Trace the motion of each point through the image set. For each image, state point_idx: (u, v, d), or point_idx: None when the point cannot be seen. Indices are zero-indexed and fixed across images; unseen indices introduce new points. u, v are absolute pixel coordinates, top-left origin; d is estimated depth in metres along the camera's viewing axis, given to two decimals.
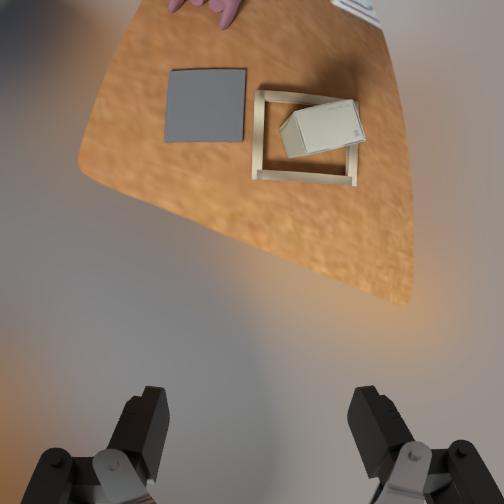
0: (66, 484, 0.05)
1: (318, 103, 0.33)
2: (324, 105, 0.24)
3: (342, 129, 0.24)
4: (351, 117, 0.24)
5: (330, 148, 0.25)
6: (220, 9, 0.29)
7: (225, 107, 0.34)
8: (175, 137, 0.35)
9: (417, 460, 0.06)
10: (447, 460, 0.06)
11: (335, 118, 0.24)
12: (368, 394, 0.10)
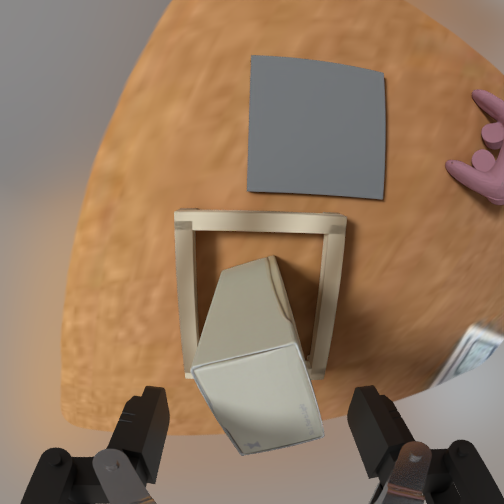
0: (66, 484, 0.05)
1: (319, 323, 0.21)
2: (312, 397, 0.11)
3: (258, 427, 0.11)
4: (286, 438, 0.11)
5: (213, 408, 0.11)
6: (477, 166, 0.19)
7: (314, 161, 0.19)
8: (259, 72, 0.18)
9: (417, 460, 0.06)
10: (447, 460, 0.06)
11: (281, 417, 0.11)
12: (368, 394, 0.10)
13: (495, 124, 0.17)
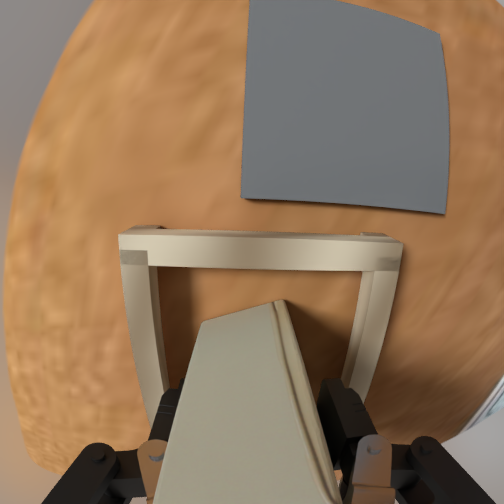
0: (104, 481, 0.06)
1: None
2: None
3: None
4: None
5: None
6: None
7: (351, 150, 0.11)
8: (263, 12, 0.10)
9: (375, 454, 0.07)
10: (411, 459, 0.07)
11: None
12: (333, 386, 0.11)
13: None
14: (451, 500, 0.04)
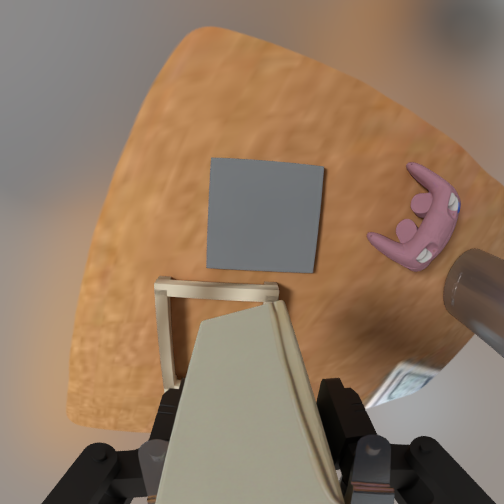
0: (105, 480, 0.06)
1: None
2: None
3: None
4: None
5: None
6: (399, 235, 0.27)
7: (257, 246, 0.27)
8: (217, 174, 0.25)
9: (374, 453, 0.07)
10: (410, 459, 0.07)
11: None
12: (332, 386, 0.11)
13: (426, 194, 0.25)
14: (451, 500, 0.04)
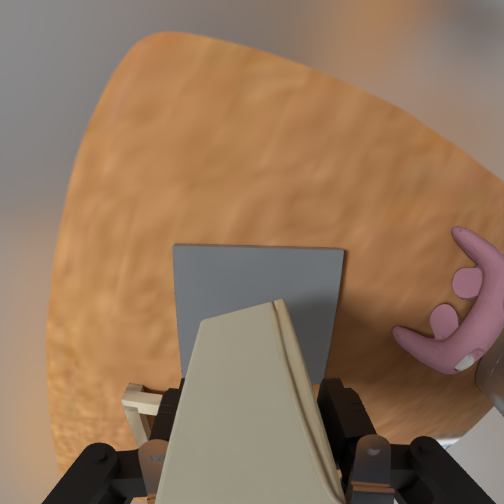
0: (105, 480, 0.06)
1: None
2: None
3: None
4: None
5: None
6: (434, 326, 0.18)
7: None
8: (183, 269, 0.17)
9: (374, 453, 0.07)
10: (410, 459, 0.07)
11: None
12: (332, 386, 0.11)
13: (473, 270, 0.17)
14: (451, 500, 0.04)
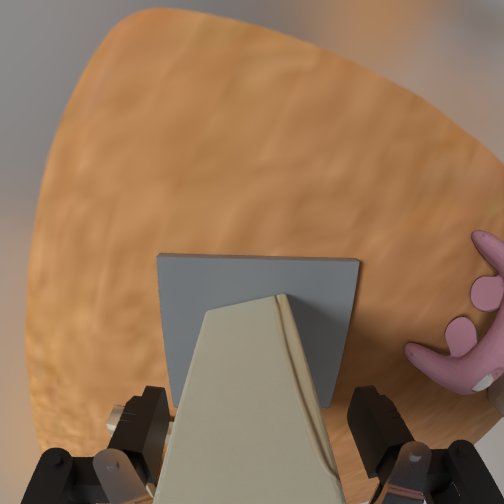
0: (66, 484, 0.05)
1: None
2: None
3: None
4: None
5: None
6: (449, 342, 0.15)
7: None
8: (169, 284, 0.14)
9: (417, 460, 0.06)
10: (447, 460, 0.06)
11: None
12: (368, 394, 0.10)
13: (494, 279, 0.14)
14: None
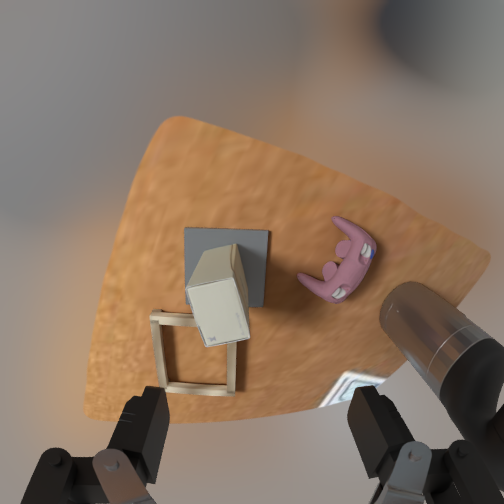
0: (66, 484, 0.05)
1: (227, 368, 0.39)
2: (241, 309, 0.25)
3: (215, 325, 0.25)
4: (229, 335, 0.25)
5: (193, 312, 0.25)
6: (324, 274, 0.37)
7: None
8: (189, 239, 0.35)
9: (417, 460, 0.06)
10: (447, 460, 0.06)
11: (227, 319, 0.25)
12: (368, 394, 0.10)
13: (348, 241, 0.35)
14: None
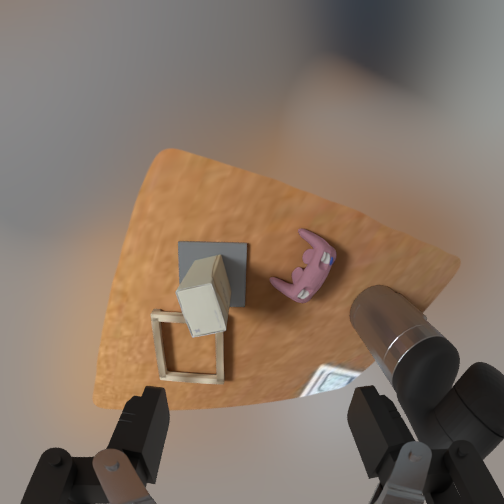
0: (66, 484, 0.05)
1: (216, 359, 0.46)
2: (218, 307, 0.32)
3: (198, 320, 0.32)
4: (210, 328, 0.33)
5: (182, 309, 0.32)
6: (293, 278, 0.44)
7: None
8: (182, 251, 0.43)
9: (417, 460, 0.06)
10: (447, 460, 0.06)
11: (207, 315, 0.32)
12: (368, 394, 0.10)
13: (312, 250, 0.42)
14: None
